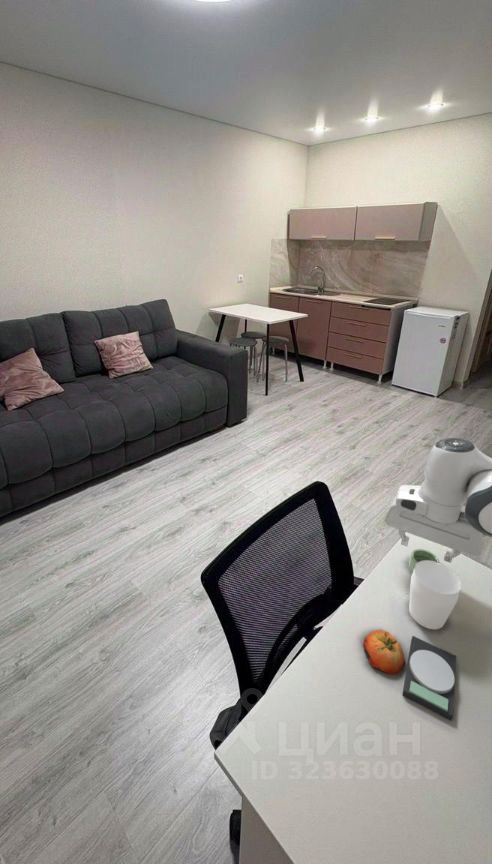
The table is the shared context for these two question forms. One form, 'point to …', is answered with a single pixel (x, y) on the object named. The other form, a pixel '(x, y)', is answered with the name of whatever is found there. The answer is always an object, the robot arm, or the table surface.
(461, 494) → the robot arm
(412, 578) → the cup
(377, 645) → the tomato
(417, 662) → the scale
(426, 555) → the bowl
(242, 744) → the table surface
